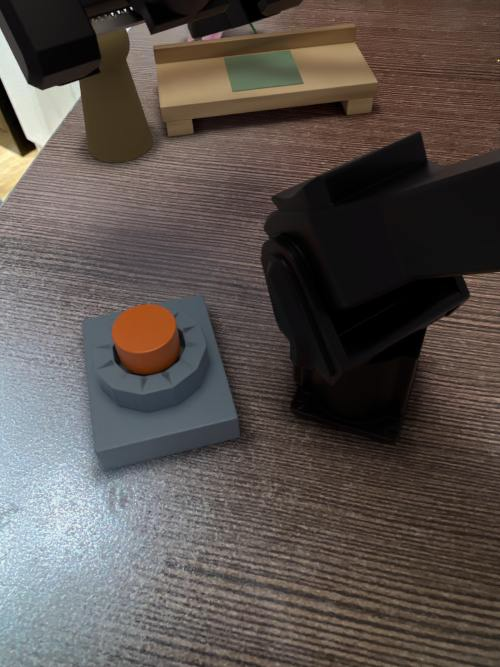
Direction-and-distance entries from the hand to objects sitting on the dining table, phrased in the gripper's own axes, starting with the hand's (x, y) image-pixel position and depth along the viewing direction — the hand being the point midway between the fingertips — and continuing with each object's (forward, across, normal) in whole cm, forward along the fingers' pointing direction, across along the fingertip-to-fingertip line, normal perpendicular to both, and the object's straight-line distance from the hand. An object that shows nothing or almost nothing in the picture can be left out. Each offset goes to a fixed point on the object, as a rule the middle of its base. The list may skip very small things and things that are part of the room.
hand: (135, 50), depth 42 cm
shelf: (+12, -15, +4) cm, 20 cm away
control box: (-5, +10, +21) cm, 24 cm away
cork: (+14, 0, +3) cm, 14 cm away
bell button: (-7, +10, +19) cm, 22 cm away
